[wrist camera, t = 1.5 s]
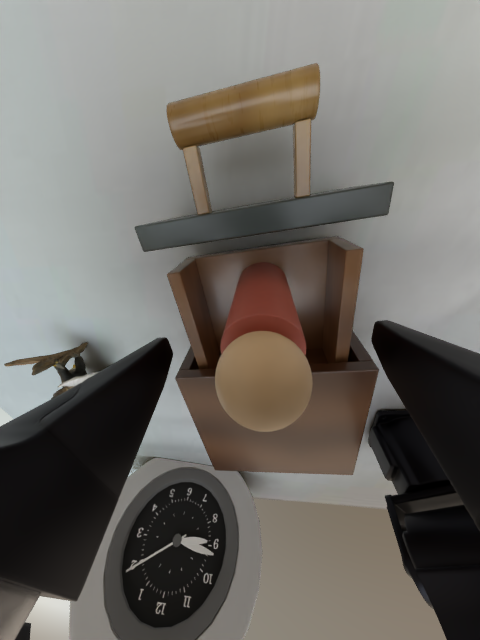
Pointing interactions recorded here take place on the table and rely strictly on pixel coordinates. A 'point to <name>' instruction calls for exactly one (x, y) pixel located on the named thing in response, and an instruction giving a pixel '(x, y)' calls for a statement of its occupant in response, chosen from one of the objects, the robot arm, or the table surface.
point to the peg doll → (263, 353)
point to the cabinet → (299, 437)
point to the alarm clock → (174, 559)
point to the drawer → (264, 220)
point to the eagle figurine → (60, 367)
